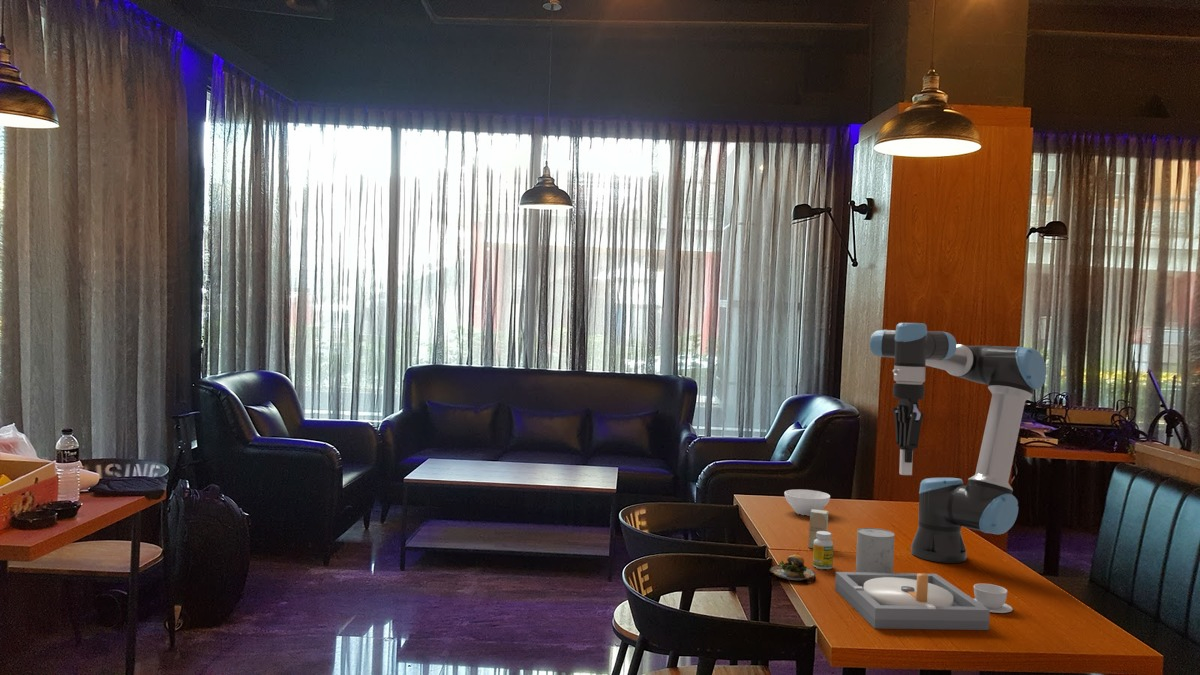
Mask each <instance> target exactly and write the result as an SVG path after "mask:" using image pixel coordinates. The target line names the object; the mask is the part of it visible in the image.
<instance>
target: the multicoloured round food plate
mask: <svg viewBox="0 0 1200 675" xmlns="http://www.w3.org/2000/svg"><path fill="white" fill-rule="evenodd" d="M799 550H801V549H800V547H799ZM769 572H770V573H771V574H772V573H773V574H774V575H775V576H777V577H778V578H781V579H784V580H785V579H786V580H792V581H806V580H807V581H806V583H807V584H811V583H814V580H815V579H816V572H815V571H814V570H812V569H810V568H808V567H807V566H805V560H804V558H803V556H801V555H799V554H792V555H789V556H788V557H787V562H784V561H783V560H781V561H779V563H778V564H775V565H774V566H771V567H770V568H769ZM816 580H817V579H816ZM810 582H811V583H810Z"/></svg>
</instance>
